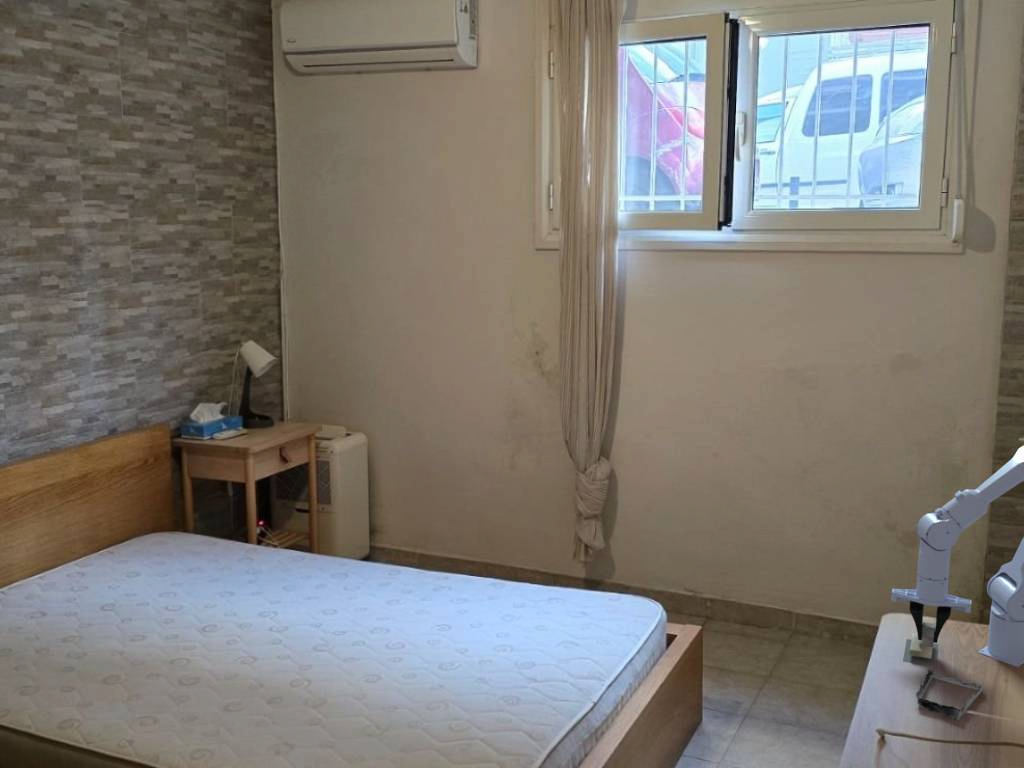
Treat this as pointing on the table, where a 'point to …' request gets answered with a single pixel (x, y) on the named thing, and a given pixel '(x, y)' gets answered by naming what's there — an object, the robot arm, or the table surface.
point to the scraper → (923, 642)
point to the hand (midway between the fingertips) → (927, 639)
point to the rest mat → (920, 659)
